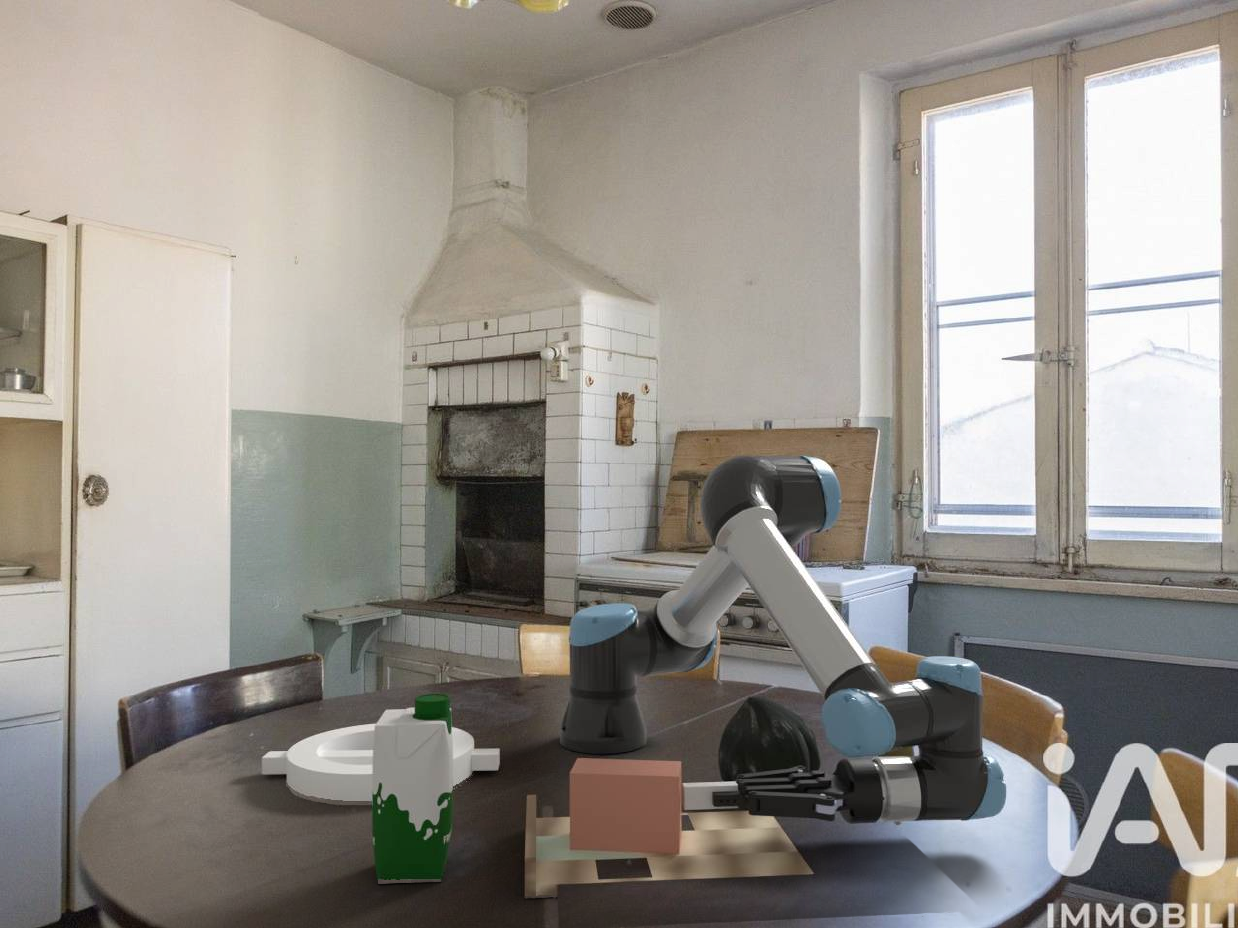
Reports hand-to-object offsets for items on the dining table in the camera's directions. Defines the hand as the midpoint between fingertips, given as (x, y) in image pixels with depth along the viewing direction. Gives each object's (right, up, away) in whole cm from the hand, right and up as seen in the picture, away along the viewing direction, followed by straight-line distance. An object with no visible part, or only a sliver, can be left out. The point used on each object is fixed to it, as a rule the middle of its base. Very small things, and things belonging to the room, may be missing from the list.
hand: (683, 796), depth 110 cm
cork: (+36, -8, +35) cm, 51 cm away
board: (-3, -7, +1) cm, 8 cm away
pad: (-12, -7, 0) cm, 14 cm away
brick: (-7, -6, +1) cm, 9 cm away
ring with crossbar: (-44, -9, +32) cm, 56 cm away
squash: (+14, -8, +23) cm, 28 cm away
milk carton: (-32, -8, -3) cm, 33 cm away
